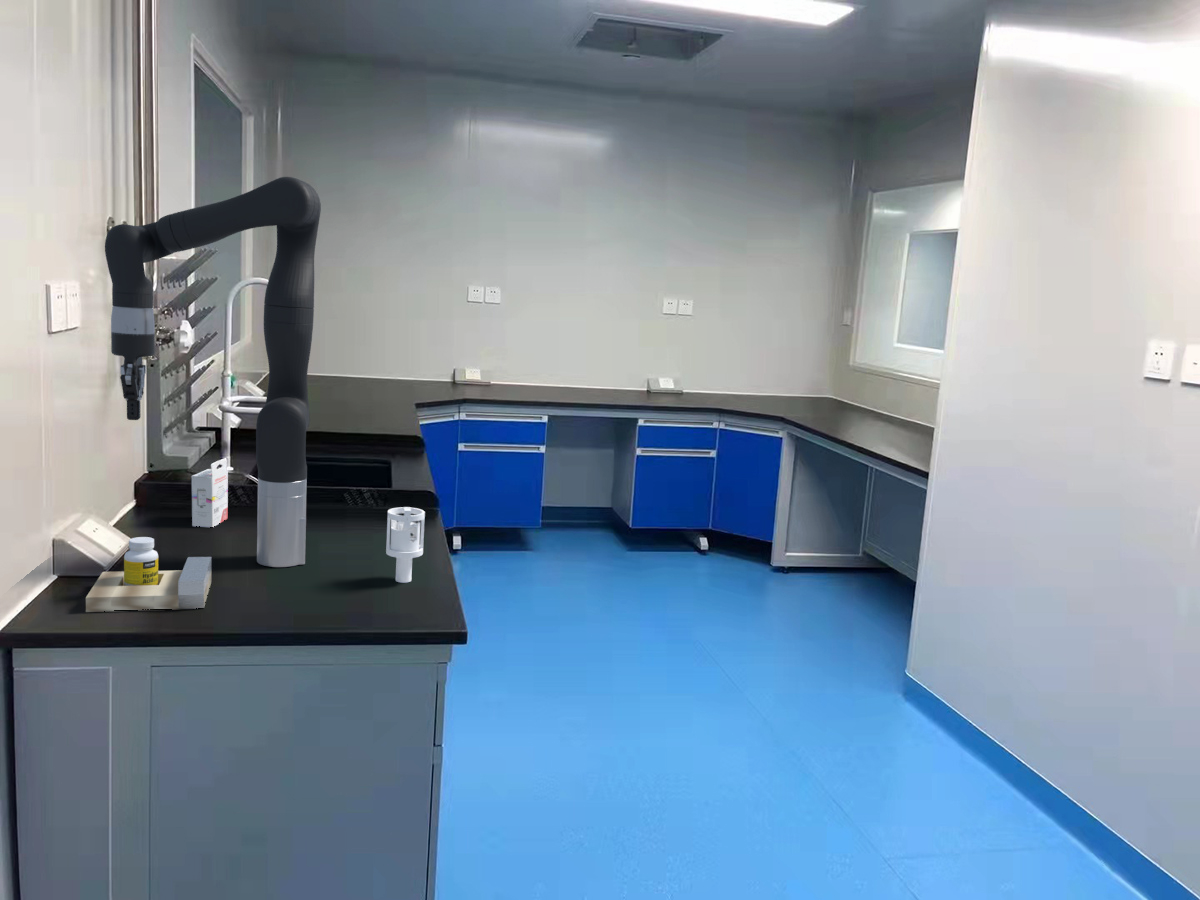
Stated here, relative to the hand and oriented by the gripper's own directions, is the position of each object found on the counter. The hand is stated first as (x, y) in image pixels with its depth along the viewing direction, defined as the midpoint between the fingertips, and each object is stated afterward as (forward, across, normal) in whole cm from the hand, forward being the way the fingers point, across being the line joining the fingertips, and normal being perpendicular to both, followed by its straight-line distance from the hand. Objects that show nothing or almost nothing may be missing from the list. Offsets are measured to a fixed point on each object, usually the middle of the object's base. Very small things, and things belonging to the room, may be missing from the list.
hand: (133, 419), depth 182 cm
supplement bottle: (+27, -26, -5) cm, 38 cm away
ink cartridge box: (+27, +23, -12) cm, 38 cm away
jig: (+27, -28, -7) cm, 40 cm away
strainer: (+27, -22, -51) cm, 62 cm away
